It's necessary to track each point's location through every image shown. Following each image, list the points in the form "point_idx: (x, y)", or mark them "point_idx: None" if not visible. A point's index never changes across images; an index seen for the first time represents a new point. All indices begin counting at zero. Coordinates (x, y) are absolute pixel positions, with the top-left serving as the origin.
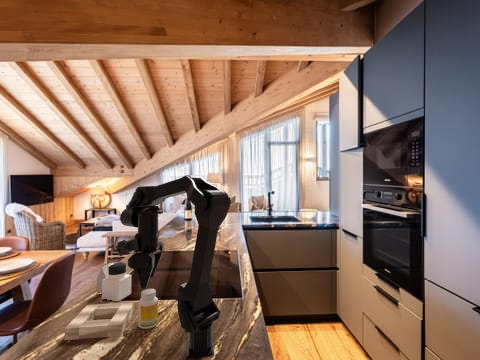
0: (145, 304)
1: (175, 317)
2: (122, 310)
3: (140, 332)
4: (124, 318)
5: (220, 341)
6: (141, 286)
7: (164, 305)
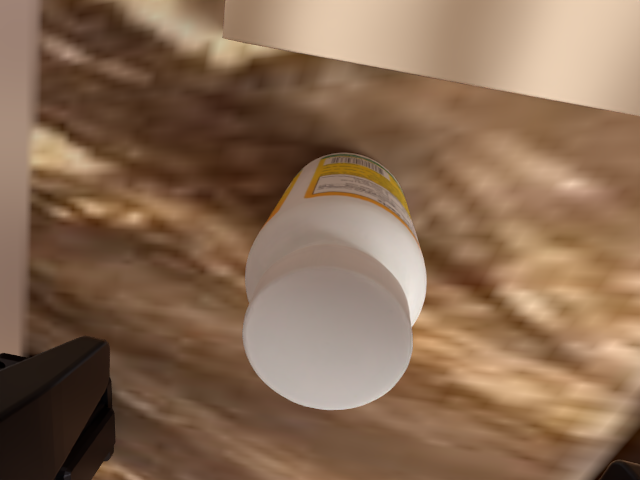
0: (249, 261)
1: None
2: (504, 15)
3: (258, 166)
4: (324, 53)
5: (105, 472)
6: (54, 353)
7: (586, 321)
